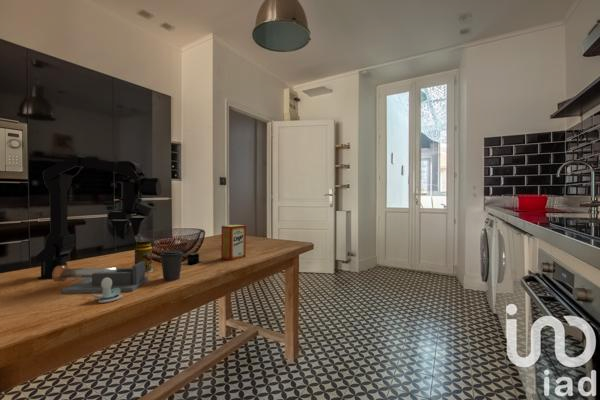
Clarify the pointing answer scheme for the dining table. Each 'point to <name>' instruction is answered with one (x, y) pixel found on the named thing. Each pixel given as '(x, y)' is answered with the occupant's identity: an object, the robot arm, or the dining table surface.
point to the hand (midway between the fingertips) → (129, 237)
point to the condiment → (144, 254)
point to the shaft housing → (122, 279)
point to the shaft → (77, 272)
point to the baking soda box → (233, 242)
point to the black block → (193, 259)
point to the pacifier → (108, 292)
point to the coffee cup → (171, 264)
